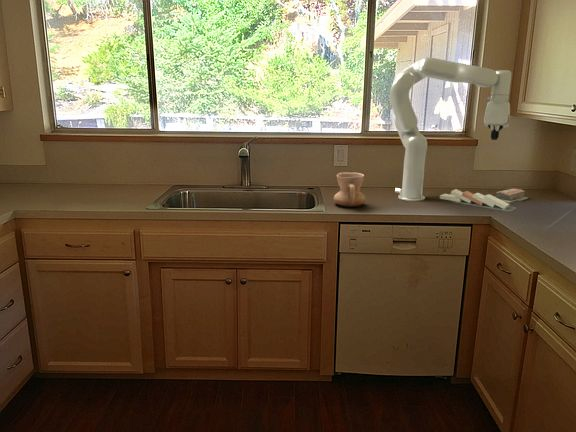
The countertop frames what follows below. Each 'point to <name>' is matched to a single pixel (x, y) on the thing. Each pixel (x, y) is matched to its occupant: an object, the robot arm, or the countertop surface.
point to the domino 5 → (496, 201)
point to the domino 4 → (480, 198)
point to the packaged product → (511, 195)
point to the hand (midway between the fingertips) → (494, 139)
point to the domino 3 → (471, 197)
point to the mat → (487, 206)
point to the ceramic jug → (350, 189)
